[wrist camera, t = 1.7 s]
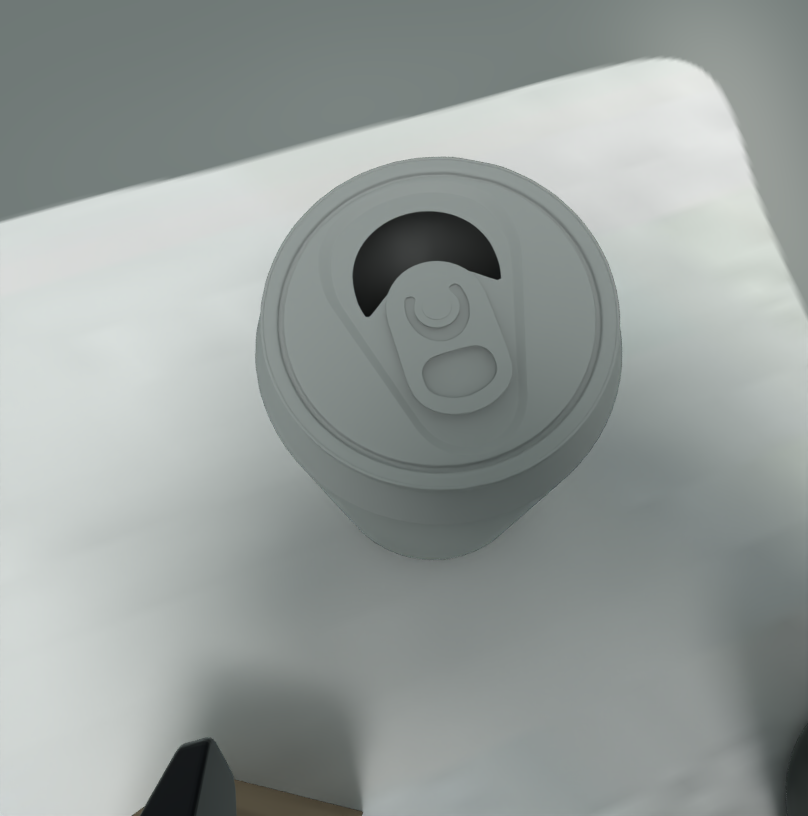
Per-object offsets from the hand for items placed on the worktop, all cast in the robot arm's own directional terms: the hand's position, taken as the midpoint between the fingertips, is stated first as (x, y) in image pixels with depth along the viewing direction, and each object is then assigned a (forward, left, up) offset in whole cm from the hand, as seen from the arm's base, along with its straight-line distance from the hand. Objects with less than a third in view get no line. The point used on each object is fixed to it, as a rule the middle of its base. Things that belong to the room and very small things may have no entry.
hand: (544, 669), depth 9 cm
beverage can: (+4, +4, -12) cm, 13 cm away
